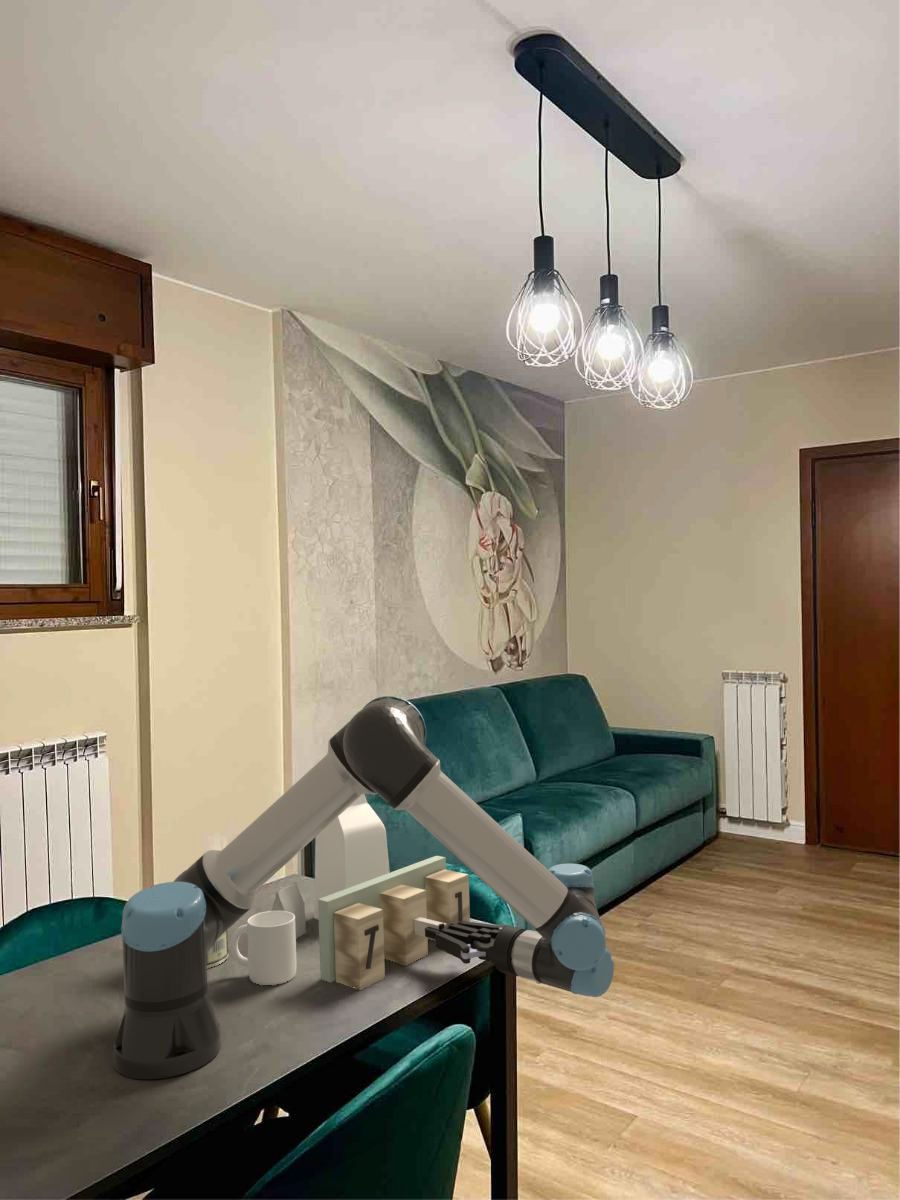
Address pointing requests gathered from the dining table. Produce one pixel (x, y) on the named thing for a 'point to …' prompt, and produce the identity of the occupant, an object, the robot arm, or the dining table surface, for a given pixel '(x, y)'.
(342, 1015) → the dining table surface
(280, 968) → the mug
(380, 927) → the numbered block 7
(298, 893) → the white juice carton
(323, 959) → the rack board
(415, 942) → the plain block
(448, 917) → the numbered block 1
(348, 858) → the milk
